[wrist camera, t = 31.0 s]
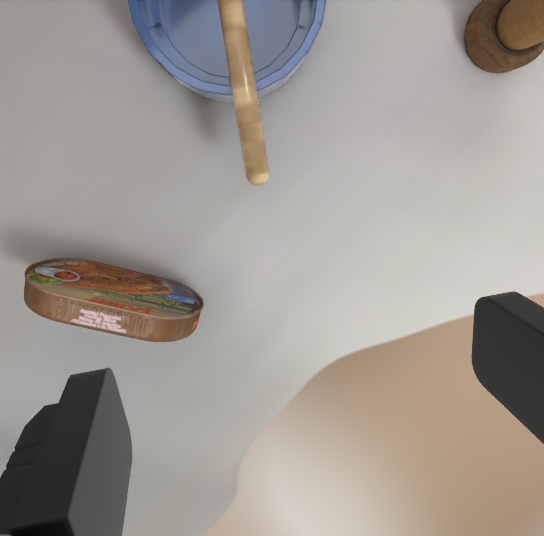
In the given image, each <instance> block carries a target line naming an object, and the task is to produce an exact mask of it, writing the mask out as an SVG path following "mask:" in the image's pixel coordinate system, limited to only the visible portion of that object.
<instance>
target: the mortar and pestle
mask: <svg viewBox="0 0 544 536" xmlns="http://www.w3.org/2000/svg"><path fill="white" fill-rule="evenodd" d="M465 45H466V49H467V52H468V55H469V57H470V58H471V60H472V61H473V62H474V63H475V64H476V65H477V66H478V67H479V68H481V69H483V70H485V71H488V72H492V73H503V72H508V71H511V70H514V69H517V68H519V67H522V66H524V65H526V64H528V63H530V62H531V61H533V60H534V59H535V58H537V57H538V56H539V55H540V54H541V52H542V51H543V50H544V0H483V1H481V2H480V3H479V4H478V5H477V7H476V8H475V9H474V10H473V12H472V14H471V15H470V17H469V20H468V22H467V25H466V30H465Z"/></svg>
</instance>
